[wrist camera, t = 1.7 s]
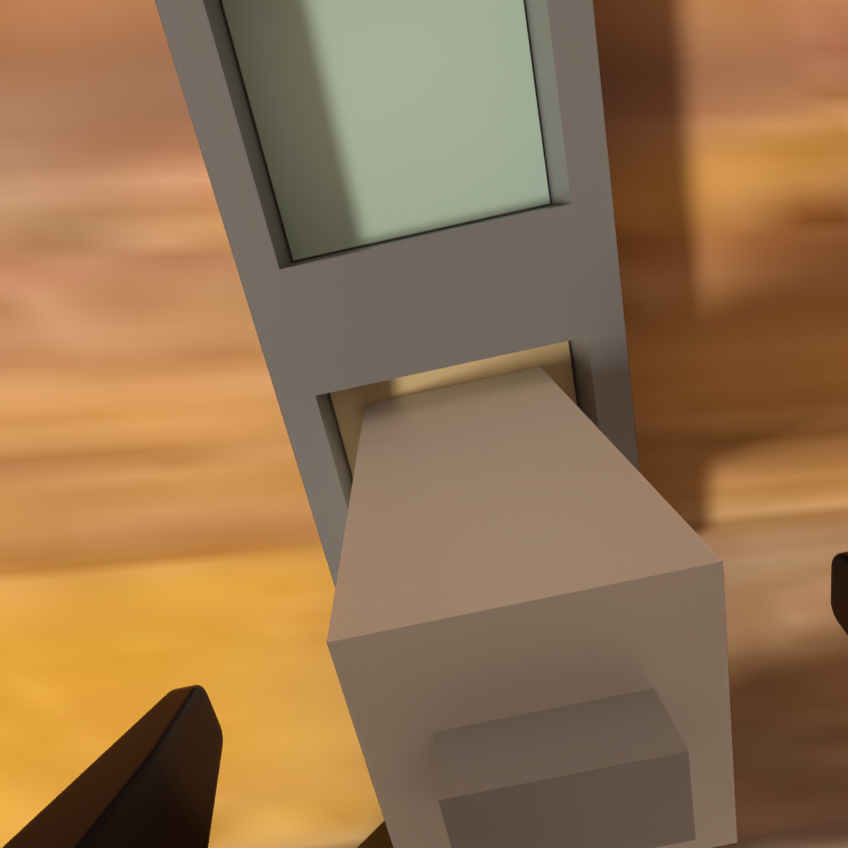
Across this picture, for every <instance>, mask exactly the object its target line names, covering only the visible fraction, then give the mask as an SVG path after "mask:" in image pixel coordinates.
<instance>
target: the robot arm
mask: <svg viewBox="0 0 848 848" xmlns="http://www.w3.org/2000/svg"><path fill="white" fill-rule="evenodd" d="M831 606H832V610H833V613H834V615H835V617H836V619H837V621H838V623H839V624H840V625H841V627H842V628H843V629H844V631H845V632H846V634H847V635H848V552H843V553H839V554H837V555H836V556H835V557H834V558H833V560H832V566H831ZM222 745H223V736H222V730H221V726H220V724H219V721H218V719H217V717H216V714H215V712H214V709H213V707H212V705H211V702H210V700H209V697H208V695H207V693H206V691H205V689H204V688H203V687H202V686H200V685H193V686H188V687H183V688H178V689H174V690H172V691H170V692H169V693H168V694H167V695H166V696H164V697H163V698H162V699H161V700H160V701H159V702H158V703H157V704H156V705H155V706H154V707H153V708H152V709H151V710H149V711H148V712H147V713H146V714H145V715H144V716H143V717H142V718H141V719H140V720H139V721H138V722H137V723H136V724H134V725H133V726H132V727H131V728H130V729H129V730H128V731H127V732H126V733H125V734H124V735H123V736H122V737H121V738H119V739H118V740H117V741H116V742H115V743H114V744H113V745H112V746H111V747H110V748H109V749H108V750H107V751H105V752H104V753H103V754H102V755H101V756H100V757H99V758H98V759H97V760H96V761H95V762H94V763H93V764H92V765H90V766H89V767H88V768H87V769H86V770H85V771H84V772H83V773H82V774H81V775H80V776H79V777H78V778H76V779H75V780H74V781H73V782H72V783H71V784H70V785H69V786H68V787H67V788H66V789H65V790H64V791H63V792H61V793H60V794H59V795H58V796H57V797H56V798H55V799H54V800H53V801H52V802H51V803H50V804H49V805H48V806H46V807H45V808H44V809H43V810H42V811H41V812H40V813H39V814H38V815H37V816H36V817H35V818H34V819H32V820H31V821H30V822H29V823H28V824H27V825H26V826H25V827H24V828H23V829H22V830H21V831H20V832H19V833H17V834H16V835H15V836H14V837H13V838H12V839H11V840H10V841H9V842H8V843H7V844H6V845H5V846H3V847H2V848H208V843H209V837H210V830H211V823H212V816H213V809H214V802H215V795H216V788H217V781H218V774H219V767H220V760H221V753H222ZM358 848H393V845H392V842H391V839H390V835H389V832H388V829H387V826H386V823H385V821H384V822H383V823H382V824H381V825H380V826H379V827H378V828H377V829H376V830H375V831H374V832H373V833H372V834H371V835H370V836H369V837H368V838H367V839H366V840H365V841H364V842H363V843H362V844H361V845H360V846H359V847H358Z"/></svg>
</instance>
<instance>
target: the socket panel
mask: <svg viewBox="0 0 848 848" xmlns="http://www.w3.org/2000/svg"><path fill="white" fill-rule="evenodd" d="M155 3H156V6H157V9H158V12H159V16H160V19H161V22H162V25H163V29H164V32H165V35H166V38H167V42H168V45H169V48H170V51H171V55H172V58H173V61H174V64H175V68H176V71H177V74H178V77H179V81H180V84H181V87H182V90H183V94H184V97H185V100H186V103H187V107H188V110H189V113H190V116H191V120H192V123H193V126H194V129H195V133H196V136H197V139H198V142H199V146H200V149H201V152H202V155H203V159H204V162H205V165H206V169H207V172H208V175H209V178H210V182H211V185H212V188H213V191H214V195H215V198H216V201H217V204H218V208H219V211H220V214H221V217H222V221H223V224H224V227H225V230H226V234H227V237H228V240H229V243H230V247H231V250H232V253H233V256H234V260H235V263H236V266H237V269H238V273H239V276H240V279H241V282H242V286H243V289H244V292H245V295H246V299H247V302H248V305H249V308H250V312H251V315H252V318H253V321H254V325H255V328H256V331H257V335H258V338H259V341H260V344H261V348H262V351H263V354H264V357H265V361H266V364H267V367H268V370H269V374H270V377H271V380H272V383H273V387H274V390H275V393H276V396H277V400H278V403H279V406H280V409H281V413H282V416H283V419H284V422H285V426H286V429H287V432H288V435H289V439H290V442H291V445H292V448H293V452H294V455H295V458H296V461H297V465H298V468H299V471H300V474H301V478H302V481H303V484H304V487H305V491H306V494H307V497H308V500H309V504H310V507H311V510H312V514H313V517H314V520H315V523H316V527H317V530H318V533H319V536H320V540H321V543H322V546H323V549H324V553H325V556H326V559H327V562H328V566H329V569H330V572H331V575H332V579H333V582H334V585H335V588H336V583H337V576H338V570H339V564H340V558H341V551H342V545H343V539H344V533H345V526H346V520H347V514H348V508H349V501H350V495H351V489H352V483H353V476H354V470H355V464H356V458H357V451H358V445H359V439H360V433H361V426H362V420H363V414H364V408H365V404H368V403H372V402H377V401H382V400H386V399H391V398H396V397H400V396H405V395H410V394H414V393H419V392H423V391H428V390H433V389H437V388H442V387H447V386H451V385H456V384H460V383H465V382H470V381H474V380H479V379H484V378H488V377H493V376H497V375H502V374H507V373H511V372H516V371H521V370H525V369H530V368H535V367H539V366H540V367H541V368H542V369H543V370H544V371H545V372H546V373H547V374H548V375H549V377H550V378H551V379H552V380H553V381H554V382H555V383H556V384H557V385H558V386H559V387H560V388H561V389H562V390H563V391H564V393H565V394H566V395H567V396H568V397H569V398H570V399H571V400H572V401H573V402H574V403H575V404H576V405H577V406H578V407H579V408H580V410H581V411H582V412H583V413H584V414H585V415H586V416H587V417H588V418H589V419H590V420H591V421H592V422H593V423H594V424H595V426H596V427H597V428H598V429H599V430H600V431H601V432H602V433H603V434H604V435H605V436H606V437H607V438H608V439H609V440H610V442H611V443H612V444H613V445H614V446H615V447H616V448H617V449H618V450H619V451H620V452H621V453H622V454H623V455H624V456H625V457H626V459H627V460H628V461H629V462H630V463H631V464H632V465H633V466H634V467H635V468H636V469H637V470H638V471H639V462H638V452H637V442H636V432H635V422H634V412H633V402H632V391H631V381H630V371H629V361H628V351H627V341H626V331H625V321H624V311H623V301H622V291H621V281H620V271H619V261H618V250H617V240H616V230H615V220H614V210H613V200H612V190H611V180H610V170H609V160H608V150H607V140H606V130H605V119H604V109H603V99H602V89H601V79H600V69H599V59H598V49H597V39H596V29H595V19H594V9H593V0H155Z"/></svg>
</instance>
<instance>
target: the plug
mask: <svg viewBox="0 0 848 848" xmlns="http://www.w3.org/2000/svg"><path fill="white" fill-rule="evenodd" d="M327 644H328V647H329V651H330V654H331V657H332V660H333V663H334V666H335V669H336V672H337V675H338V678H339V681H340V684H341V688H342V691H343V694H344V697H345V700H346V703H347V706H348V709H349V712H350V715H351V718H352V721H353V725H354V728H355V731H356V734H357V737H358V740H359V743H360V746H361V749H362V752H363V755H364V758H365V761H366V765H367V768H368V771H369V774H370V777H371V780H372V783H373V786H374V789H375V792H376V795H377V798H378V802H379V805H380V808H381V811H382V814H383V817H384V820H385V823H386V826H387V829H388V832H389V835H390V839H391V842H392V845H393V848H712V847H718V846H723V845H728V844H733V843H737V827H736V807H735V788H734V768H733V748H732V729H731V709H730V690H729V670H728V650H727V631H726V611H725V592H724V572H723V561H722V560H721V559H720V558H719V557H718V555H717V554H716V553H715V552H714V551H713V550H712V549H711V548H710V547H709V546H708V545H707V544H706V543H705V542H704V541H703V539H702V538H701V537H700V536H699V535H698V534H697V533H696V532H695V531H694V530H693V529H692V528H691V527H690V526H689V525H688V524H687V522H686V521H685V520H684V519H683V518H682V517H681V516H680V515H679V514H678V513H677V512H676V511H675V510H674V509H673V508H672V506H671V505H670V504H669V503H668V502H667V501H666V500H665V499H664V498H663V497H662V496H661V495H660V494H659V493H658V492H657V491H656V489H655V488H654V487H653V486H652V485H651V484H650V483H649V482H648V481H647V480H646V479H645V478H644V477H643V476H642V475H641V473H640V472H639V471H638V470H637V469H636V468H635V467H634V466H633V465H632V464H631V463H630V462H629V461H628V460H627V459H626V457H625V456H624V455H623V454H622V453H621V452H620V451H619V450H618V449H617V448H616V447H615V446H614V445H613V444H612V443H611V442H610V440H609V439H608V438H607V437H606V436H605V435H604V434H603V433H602V432H601V431H600V430H599V429H598V428H597V427H596V426H595V424H594V423H593V422H592V421H591V420H590V419H589V418H588V417H587V416H586V415H585V414H584V413H583V412H582V411H581V410H580V408H579V407H578V406H577V405H576V404H575V403H574V402H573V401H572V400H571V399H570V398H569V397H568V396H567V395H566V394H565V393H564V391H563V390H562V389H561V388H560V387H559V386H558V385H557V384H556V383H555V382H554V381H553V380H552V379H551V378H550V377H549V375H548V374H547V373H546V372H545V371H544V370H543V369H542V368H541V367H540V366H539V367H535V368H530V369H525V370H521V371H516V372H511V373H507V374H502V375H497V376H493V377H488V378H484V379H479V380H474V381H470V382H465V383H460V384H456V385H451V386H447V387H442V388H437V389H433V390H428V391H423V392H419V393H414V394H410V395H405V396H400V397H396V398H391V399H386V400H382V401H377V402H372V403H368V404H365V408H364V414H363V420H362V426H361V433H360V439H359V445H358V451H357V458H356V464H355V470H354V476H353V483H352V489H351V495H350V501H349V508H348V514H347V520H346V526H345V533H344V539H343V545H342V551H341V558H340V564H339V570H338V576H337V583H336V589H335V595H334V601H333V608H332V614H331V620H330V626H329V633H328V639H327Z"/></svg>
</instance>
